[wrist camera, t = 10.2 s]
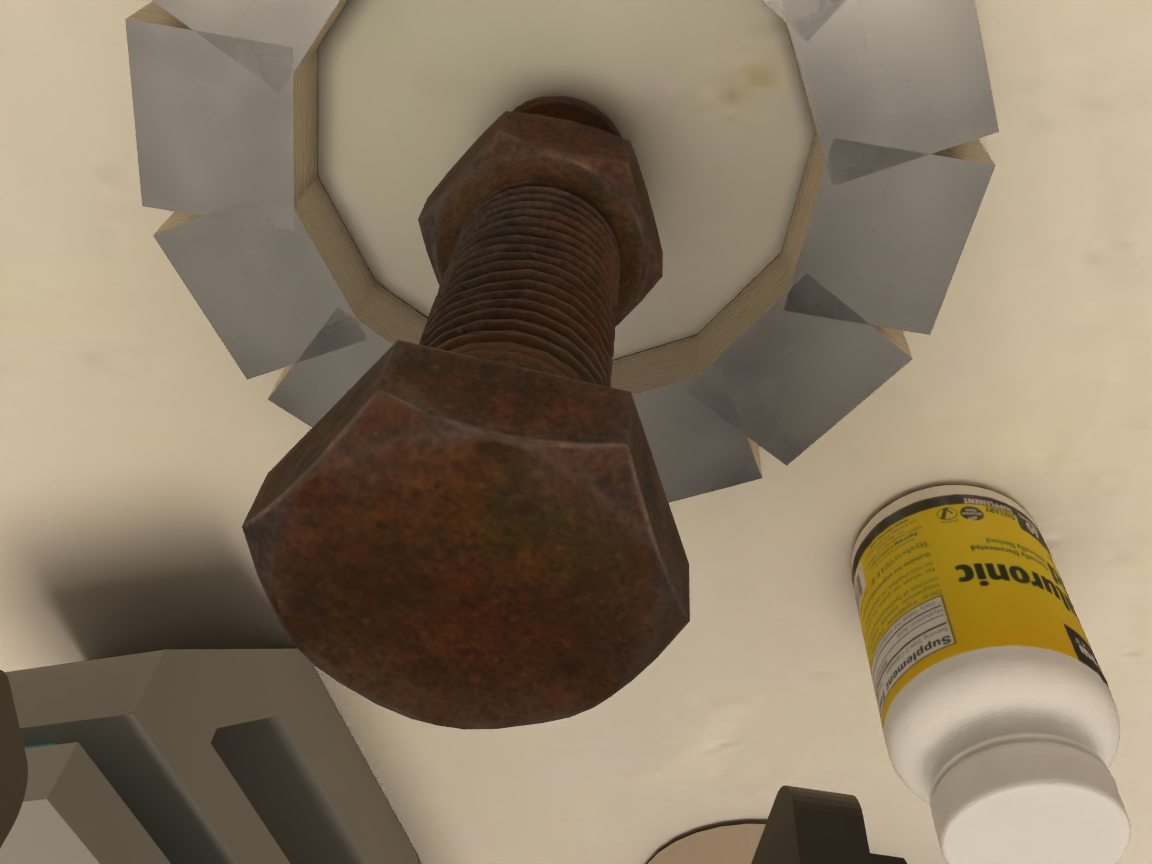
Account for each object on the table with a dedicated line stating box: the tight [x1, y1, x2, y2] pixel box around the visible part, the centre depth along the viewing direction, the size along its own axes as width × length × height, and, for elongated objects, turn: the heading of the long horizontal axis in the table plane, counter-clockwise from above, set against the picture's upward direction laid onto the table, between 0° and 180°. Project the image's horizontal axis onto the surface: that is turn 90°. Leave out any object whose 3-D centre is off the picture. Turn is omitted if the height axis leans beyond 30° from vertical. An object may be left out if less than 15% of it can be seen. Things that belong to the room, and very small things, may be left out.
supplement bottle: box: [851, 485, 1130, 864], centre depth 28 cm, size 5×5×10 cm
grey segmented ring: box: [126, 0, 999, 503], centre depth 25 cm, size 18×18×2 cm
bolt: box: [242, 97, 690, 729], centre depth 20 cm, size 6×5×15 cm
